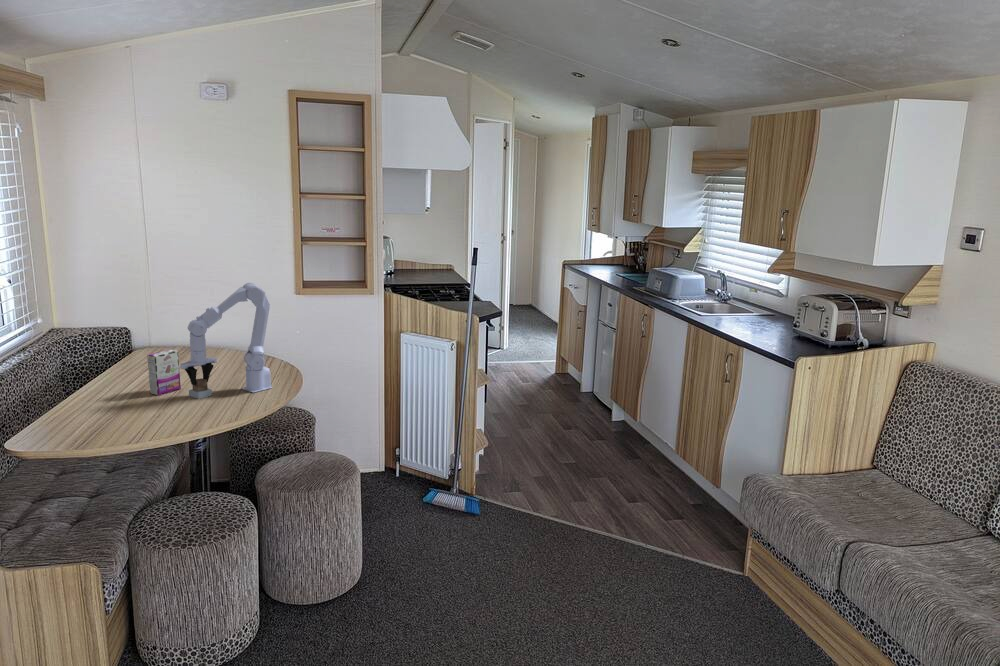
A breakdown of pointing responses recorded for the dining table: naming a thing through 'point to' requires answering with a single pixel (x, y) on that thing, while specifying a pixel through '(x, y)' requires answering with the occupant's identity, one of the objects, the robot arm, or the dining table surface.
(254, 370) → the robot arm
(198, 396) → the base block
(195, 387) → the walnut cube
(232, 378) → the dining table surface
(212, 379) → the dining table surface
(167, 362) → the candy bar box
